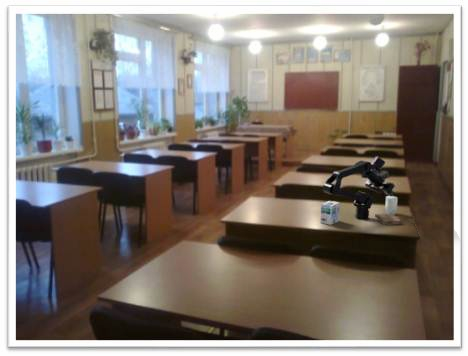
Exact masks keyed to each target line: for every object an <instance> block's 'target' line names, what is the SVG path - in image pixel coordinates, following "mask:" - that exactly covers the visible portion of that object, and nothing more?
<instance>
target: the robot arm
mask: <svg viewBox="0 0 468 356" xmlns="http://www.w3.org/2000/svg"><path fill="white" fill-rule="evenodd" d="M385 165H386V161H385V160H383V159H382V158H380V157H379V156H375V157H374V159H373V160H372V161H366V160H361V159H360V160H358V161H357V162H355V163H354V164H353V165H351V166H349V167H346V168H342V169H340V170H335V171H333V173H332V174H331V175H330V177H328V178H327V180H326V181H325V183H324V184H323V186H322V191H323V192H324V193H325V194H328V195H332V196H342V197H345V198H348V199H352V200H354V201H353V206H354V207H355V214H354V217H355V218H356V219H357V220H369V216H370V209H371V207H372V205H373V201H374V198H373V196H372V195H371V194H369V193H366V192H363V191H360V190H358V191H357V193H355V192H354V191H349V190H347V189H344V188H341V186H342V180H343V179H344V178H347V177H349V176H353V175H355V174H361V173H362V175H361V178H363V179H367V180H366V182H365V184H364V186H365V188H366V189H367V188H368V189H370V190H372V191H374V192H376V193H379V194H382V192H383V193H384V194H385V195H387V196H391V197H392V196H394V194H393V193H394V192H393V190H394V188H395V187H396V186H395V184H394V183H393V182H389V181H388V182H387V181H386V179H388V178H390V174H389V171H387V170H382V168H383V167H384V166H385ZM333 182H335V183H333ZM385 182H386V183H385ZM381 189H382V190H381Z"/></svg>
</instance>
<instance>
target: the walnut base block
mask: <svg viewBox="0 0 468 356" xmlns="http://www.w3.org/2000/svg"><path fill="white" fill-rule="evenodd" d="M375 217H376V218H377V219H378V220H377V219H376V218H375ZM374 218H375V219H376V220H377V221H379V222H380V223H381V224H382V225H383V224H401V225H402V224H403V223H402V220H401V219H400V218H399V217H397V216H396V215H393V214H385V213H375V214H374Z"/></svg>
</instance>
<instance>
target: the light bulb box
mask: <svg viewBox="0 0 468 356" xmlns="http://www.w3.org/2000/svg"><path fill="white" fill-rule="evenodd" d="M340 207H341V202H338V201H335V200H333V201H332V200H328V201H326V202H323V203H321V205H320V223H321V224H324V225H330V226H332V225H334V224H336V223H338V222H340Z"/></svg>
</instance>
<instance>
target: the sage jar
mask: <svg viewBox="0 0 468 356" xmlns="http://www.w3.org/2000/svg"><path fill="white" fill-rule="evenodd" d="M398 198H399V197H397V196H394V195H393V196H392V197H391V196H389V195H387V196H385V207H384V208H385V209H384V214H385V213H386V214H393V215H394V216H396V215H397V210H398ZM395 214H396V215H395Z"/></svg>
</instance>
